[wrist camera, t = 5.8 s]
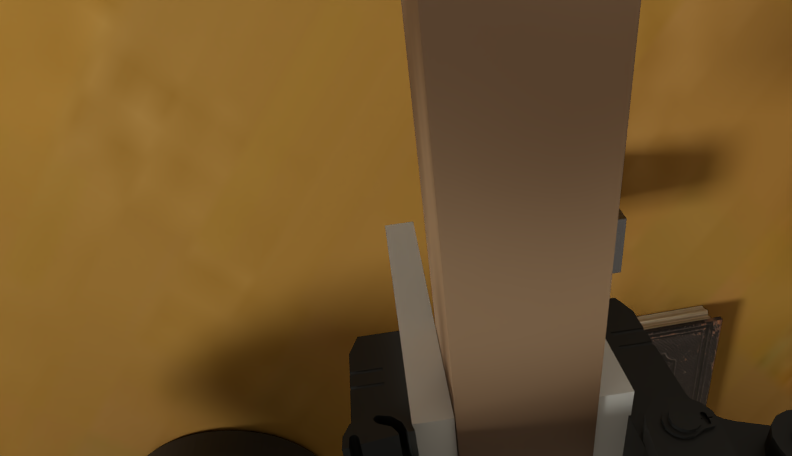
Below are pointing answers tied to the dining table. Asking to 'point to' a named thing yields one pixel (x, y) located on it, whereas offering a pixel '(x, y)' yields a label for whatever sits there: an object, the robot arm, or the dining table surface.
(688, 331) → the hardcover book
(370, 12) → the dining table surface
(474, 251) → the walnut stick
